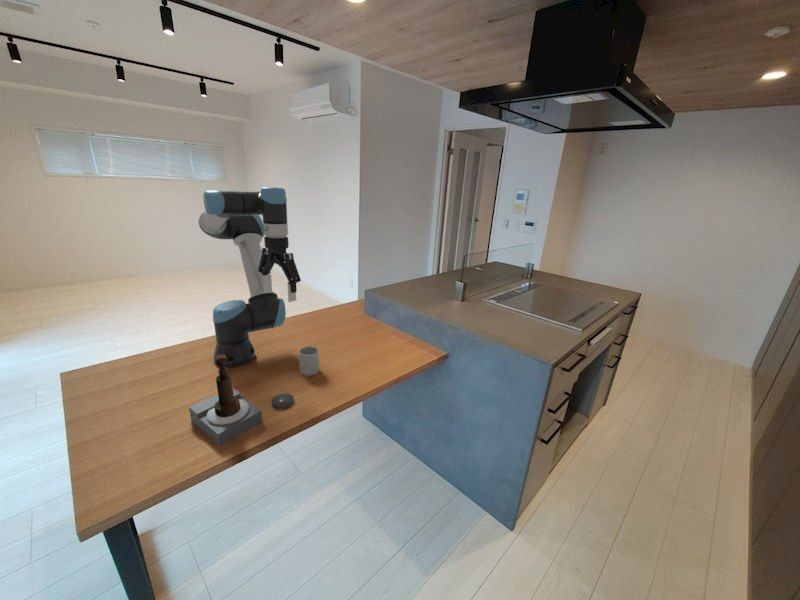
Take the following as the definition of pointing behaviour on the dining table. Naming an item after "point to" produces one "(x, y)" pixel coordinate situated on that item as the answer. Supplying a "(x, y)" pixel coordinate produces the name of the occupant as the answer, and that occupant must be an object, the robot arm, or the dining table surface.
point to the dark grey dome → (282, 401)
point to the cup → (309, 360)
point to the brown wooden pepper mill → (225, 390)
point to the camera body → (224, 419)
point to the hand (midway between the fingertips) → (280, 296)
